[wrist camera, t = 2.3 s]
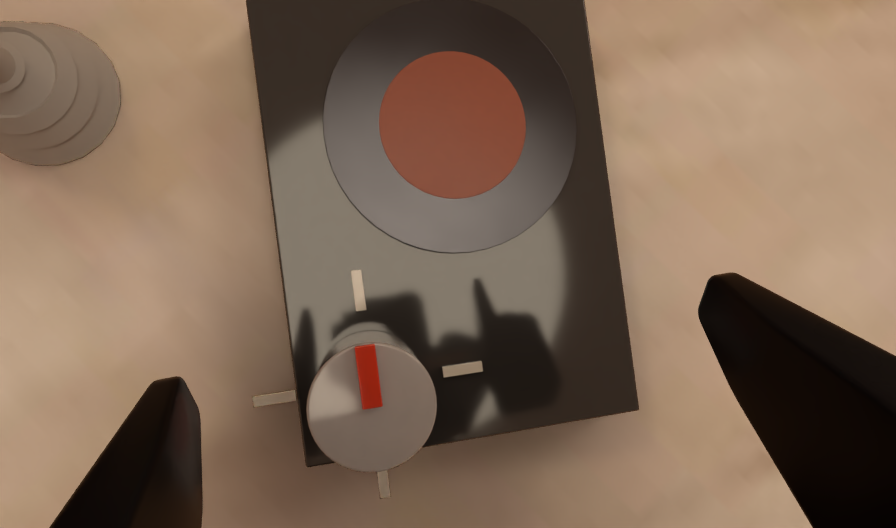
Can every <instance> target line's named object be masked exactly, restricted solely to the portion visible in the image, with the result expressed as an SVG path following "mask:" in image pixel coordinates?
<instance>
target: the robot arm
mask: <svg viewBox="0 0 896 528" xmlns="http://www.w3.org/2000/svg"><path fill="white" fill-rule="evenodd" d="M698 315H699V319H700V322H701V324H702V327H703V329H704V331H705V333H706V335H707V338H708V340H709V342H710V344H711V346H712V349H713V351H714V353H715V355H716V357H717V359H718V362H719V364H720V366H721V368H722V370H723V373H724V375H725V377H726V379H727V381H728V383H729V385H730V387H731V389H732V391H733V393H734V395H735V397H736V399H737V401H738V402H739V404H740V406H741V408H742V409H743V411H744V413H745V414H746V416H747V418H748V419H749V421H750V423H751V424H752V426H753V428H754V429H755V431H756V433H757V435H758V436H759V438H760V440H761V441H762V443H763V445H764V446H765V448H766V450H767V451H768V453H769V455H770V456H771V458H772V460H773V461H774V463H775V465H776V467H777V468H778V470H779V472H780V473H781V475H782V477H783V478H784V480H785V482H786V483H787V485H788V487H789V488H790V490H791V492H792V493H793V495H794V497H795V499H796V500H797V502H798V504H799V505H800V507H801V509H802V510H803V512H804V514H805V515H806V517H807V519H808V520H809V522H810V524H811V525H812V527H813V528H896V356H894V355H893V354H891V353H889V352H887V351H885V350H883V349H881V348H879V347H877V346H875V345H873V344H871V343H870V342H868V341H866V340H864V339H862V338H860V337H858V336H856V335H854V334H852V333H850V332H848V331H846V330H845V329H843V328H841V327H839V326H837V325H835V324H833V323H831V322H829V321H827V320H825V319H823V318H822V317H820V316H818V315H816V314H814V313H812V312H810V311H808V310H806V309H804V308H802V307H800V306H798V305H797V304H795V303H793V302H791V301H789V300H787V299H785V298H783V297H781V296H779V295H777V294H775V293H773V292H772V291H770V290H768V289H766V288H764V287H762V286H760V285H758V284H756V283H754V282H752V281H750V280H749V279H747V278H745V277H743V276H741V275H739V274H737V273H724V274H719V275H714V276H712V277H711V278H710V279H709V280H708V282H707V285H706V287H705V290H704V293H703V296H702V299H701V302H700V305H699V308H698ZM202 512H203V495H202V459H201V422H200V414H199V409H198V407H197V404H196V402H195V400H194V398H193V397H192V395H191V393H190V391H189V389H188V387H187V385H186V383H185V381H184V380H183V379H182V378H181V377H177V376H176V377H171V378H165V379H160V380H156V381H154V382H153V383H151V384H150V386H149V387H148V388H147V390H146V391H145V392H144V394H143V395H142V397H141V398H140V400H139V401H138V402H137V404H136V405H135V407H134V408H133V410H132V411H131V412H130V414H129V415H128V417H127V418H126V419H125V421H124V422H123V424H122V425H121V427H120V428H119V429H118V431H117V432H116V434H115V435H114V437H113V438H112V439H111V441H110V442H109V444H108V445H107V446H106V448H105V449H104V451H103V452H102V454H101V455H100V456H99V458H98V459H97V461H96V462H95V464H94V465H93V466H92V468H91V469H90V471H89V472H88V473H87V475H86V476H85V478H84V479H83V481H82V482H81V483H80V485H79V486H78V488H77V489H76V490H75V492H74V493H73V495H72V496H71V498H70V499H69V500H68V502H67V503H66V505H65V506H64V508H63V509H62V510H61V512H60V513H59V515H58V516H57V517H56V519H55V520H54V522H53V523H52V525H51V526H50V527H49V528H201V527H202Z"/></svg>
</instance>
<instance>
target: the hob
mask: <svg viewBox="0 0 896 528" xmlns="http://www.w3.org/2000/svg"><path fill="white" fill-rule="evenodd" d="M416 1H419V0H246V6H247V14H248V21H249V29H250V37H251V45H252V52H253V60H254V68H255V76H256V83H257V91H258V99H259V107H260V114H261V122H262V130H263V138H264V145H265V153H266V161H267V169H268V176H269V184H270V192H271V200H272V207H273V215H274V223H275V231H276V238H277V246H278V254H279V262H280V269H281V277H282V285H283V293H284V300H285V308H286V316H287V324H288V331H289V339H290V347H291V355H292V362H293V370H294V378H295V386H296V390H289V391H282V392H276V393H269V394H263V395H256V396H253V397H252V399H253V407H260V406H267V405H273V404H279V403H286V402H292V401H296V400H297V401H298V409H299V417H300V424H301V432H302V440H303V448H304V455H305V463H306V467H314V466H319V465H325V464H331V463H335V462H334V461H332V460H331V459H330V458H329V457H327V456H326V455H325V454H324V453H323V452H322V451H321V449H320V448H319V447H318V445H317V444H316V442H315V441H314V439H313V437H312V435H311V432H310V429H309V426H308V421H307V412H306V406H307V398H308V393H309V390H310V387H311V384H312V382H313V380H314V378H315V376H316V373H317V371H318V369H319V367H320V365H321V363H322V361H323V359H324V357H325V356H326V355H327V353H328V352H329V351H330V349H331V348H332V347H333V346H334V345H335V344H337V343H338V342H339V341H341V340H342V339H343V338H345V337H347V336H349V335H352V334H355V333H358V332H362V331H380V332H385V333H388V334H391V335H393V336H395V337H397V338H399V339H401V340H402V341H403V342H405V343H406V344H407V345H408V346H409V347H410V348H411V349H412V351H413V352H414V353H415V355H416V356H417V357H418V359H419V360H420V362H421V363H422V364H423V366H424V367H425V369H426V370H427V372H428V373H429V375H430V377H431V379H432V381H433V384H434V387H435V392H436V397H437V414H436V419H435V423H434V426H433V429H432V431H431V434H430V436H429V438H428V439H427V441H426V442H425V444H424V445H423V446H422V448H423V447H429V446H435V445H441V444H446V443H452V442H458V441H464V440H469V439H475V438H481V437H487V436H493V435H498V434H504V433H510V432H516V431H521V430H527V429H533V428H539V427H545V426H550V425H556V424H562V423H568V422H573V421H579V420H585V419H591V418H596V417H602V416H608V415H614V414H620V413H625V412H631V411H637V410H639V405H638V397H637V390H636V382H635V375H634V367H633V360H632V353H631V345H630V338H629V330H628V323H627V315H626V308H625V300H624V293H623V285H622V278H621V270H620V263H619V255H618V248H617V241H616V233H615V226H614V218H613V211H612V203H611V196H610V188H609V181H608V173H607V166H606V158H605V151H604V143H603V136H602V129H601V121H600V114H599V106H598V99H597V91H596V84H595V76H594V69H593V61H592V54H591V46H590V39H589V31H588V24H587V17H586V9H585V2H584V0H471V1H475V2H479V3H483V4H486V5H489V6H491V7H494V8H496V9H499V10H501V11H503V12H505V13H506V14H508V15H510V16H512V17H514V18H515V19H517V20H518V21H520V22H521V23H522V24H524V25H525V26H526V27H528V28H529V29H530V30H531V31H532V32H533V33H534V34H535V35H536V36H537V37H539V38H540V39H541V40H542V42H543V43H544V44H545V45H546V46H547V48H548V49H549V50H550V51H551V53H552V54H553V56H554V57H555V59H556V60H557V62H558V64H559V65H560V67H561V69H562V71H563V73H564V75H565V77H566V79H567V81H568V84H569V87H570V91H571V94H572V97H573V101H574V106H575V111H576V123H577V138H576V149H575V154H574V159H573V163H572V166H571V169H570V172H569V176H568V178H567V180H566V182H565V184H564V186H563V189H562V191H561V192H560V194H559V195H558V197H557V199H556V200H555V202H554V203H553V205H552V206H551V207H550V208H549V209H548V211H547V212H546V213H545V214H544V215H543V216H542V217H541V218H540V219H539V220H538V221H537V222H536V223H535V224H534V225H532V226H531V227H530V228H529V229H527V230H526V231H524V232H523V233H521V234H520V235H518V236H517V237H515V238H513V239H511V240H509V241H507V242H505V243H503V244H500V245H497V246H495V247H492V248H489V249H485V250H480V251H475V252H470V253H455V254H452V253H438V252H432V251H427V250H422V249H418V248H416V247H413V246H410V245H407V244H404V243H402V242H400V241H398V240H396V239H394V238H392V237H390V236H388V235H387V234H385V233H384V232H382V231H381V230H379V229H378V228H376V227H375V226H374V225H372V224H371V223H370V222H369V221H368V220H367V219H366V218H365V217H363V216H362V215H361V214H360V213H359V211H358V210H357V209H356V208H355V207H354V206H353V205H352V203H351V202H350V201H349V199H348V198H347V196H346V195H345V193H344V192H343V190H342V189H341V187H340V185H339V183H338V181H337V179H336V177H335V175H334V173H333V171H332V168H331V165H330V162H329V159H328V156H327V152H326V147H325V142H324V135H323V107H324V100H325V95H326V90H327V86H328V83H329V80H330V78H331V75H332V72H333V70H334V68H335V66H336V64H337V62H338V60H339V58H340V56H341V55H342V53H343V52H344V50H345V49H346V48H347V46H348V45H349V43H350V42H351V41H352V40H353V39H354V38H355V37H356V36H357V35H358V34H359V33H360V31H361V30H363V29H364V28H365V27H366V26H368V25H369V24H370V23H371V22H372V21H374V20H375V19H377V18H378V17H380V16H382V15H383V14H385V13H387V12H388V11H390V10H393V9H395V8H398V7H400V6H402V5H405V4H408V3H412V2H416ZM296 393H297V396H296ZM377 478H378V485H379V493H380V499H382V498H387V497H391V494H390V487H389V479H388V471H387V470H385V471H381V472H377Z"/></svg>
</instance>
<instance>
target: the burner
mask: <svg viewBox="0 0 896 528" xmlns="http://www.w3.org/2000/svg"><path fill="white" fill-rule="evenodd" d="M323 135H324V142H325V147H326V152H327V156H328V159H329V162H330V165H331V168H332V171H333V173H334V175H335V177H336V179H337V181H338V183H339V185H340V187H341V189H342V190H343V192H344V193H345V195H346V196H347V198H348V199H349V201H350V202H351V203H352V205H353V206H354V207H355V208H356V209H357V210H358V211H359V213H360V214H361V215H362V216H363V217H365V218H366V219H367V220H368V221H369V222H370V223H371V224H372V225H374V226H375V227H376V228H378V229H379V230H381V231H382V232H384V233H385V234H387V235H388V236H390V237H392V238H394V239H396V240H398V241H400V242H402V243H404V244H407V245H410V246H413V247H416V248H418V249H422V250H427V251H432V252H438V253H452V254H455V253H470V252H475V251H480V250H485V249H489V248H492V247H495V246H497V245H500V244H503V243H505V242H507V241H509V240H511V239H513V238H515V237H517V236H518V235H520V234H521V233H523V232H524V231H526V230H527V229H529V228H530V227H531V226H532V225H534V224H535V223H536V222H537V221H538V220H539V219H540V218H541V217H542V216H543V215H544V214H545V213H546V212H547V211H548V209H549V208H550V207H551V206H552V205H553V203H554V202H555V200H556V199H557V197H558V195H559V194H560V192H561V191H562V189H563V186H564V184H565V182H566V180H567V178H568V176H569V172H570V169H571V166H572V163H573V159H574V154H575V149H576V138H577V123H576V111H575V106H574V101H573V97H572V94H571V91H570V87H569V84H568V81H567V79H566V77H565V75H564V73H563V71H562V69H561V67H560V65H559V64H558V62H557V60H556V59H555V57H554V56H553V54H552V53H551V51H550V50H549V49H548V48H547V46H546V45H545V44H544V43H543V42H542V40H541V39H540V38H539V37H537V36H536V35H535V34H534V33H533V32H532V31H531V30H530V29H529V28H528V27H526V26H525V25H524V24H522V23H521V22H520V21H518V20H517V19H515V18H514V17H512V16H510V15H508V14H506V13H505V12H503V11H501V10H499V9H496V8H494V7H491V6H489V5H486V4H483V3H479V2H475V1H471V0H419V1H416V2H412V3H408V4H405V5H402V6H400V7H398V8H395V9H393V10H390V11H388V12H387V13H385V14H383V15H382V16H380V17H378V18H377V19H375V20H374V21H372V22H371V23H370V24H369V25H368V26H366V27H365V28H364V29H363V30H361V31H360V33H359V34H358V35H357V36H356V37H355V38H354V39H353V40H352V41H351V42H350V43H349V45H348V46H347V48H346V49H345V50H344V52H343V53H342V55H341V56H340V58H339V60H338V62H337V64H336V66H335V68H334V70H333V72H332V75H331V78H330V80H329V83H328V86H327V90H326V95H325V100H324V107H323Z"/></svg>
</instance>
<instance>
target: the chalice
mask: <svg viewBox="0 0 896 528" xmlns="http://www.w3.org/2000/svg"><path fill="white" fill-rule="evenodd" d="M120 105H121V102H120V84H119V80H118V77H117V75H116V72H115V70H114V68H113V65H112V63H111V61H110V59H109V58H108V57H107V56H106V55H105V53H104V52H103V51H102V50H101V49H100V48H99V46H98V45H97V44H96V43H95V42H93V41H92V40H90V39H89V38H87V37H85V36H84V35H82V34H81V33H79V32H78V31H76V30H73V29H70V28H66V27H63V26H60V25H56V24H53V23H27V22H23V21H3V22H0V152H1V153H3V154H5V155H6V156H8V157H10V158H11V159H14V160H17V161H21V162H25V163H29V164H32V165H61V164H64V163H67V162H70V161H73V160H76V159H79V158H82V157H84V156H85V155H87V154H88V153H89V152H91V151H92V150H93V149H95V148H96V147H98V146H99V145H100V144H102V142H103V141H104V139H105V138H106V137H107V135H108V134H109V132H110V131H111V130H112V128H113V127H114V125H115V122H116V118H117V115H118V111H119V108H120Z"/></svg>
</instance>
